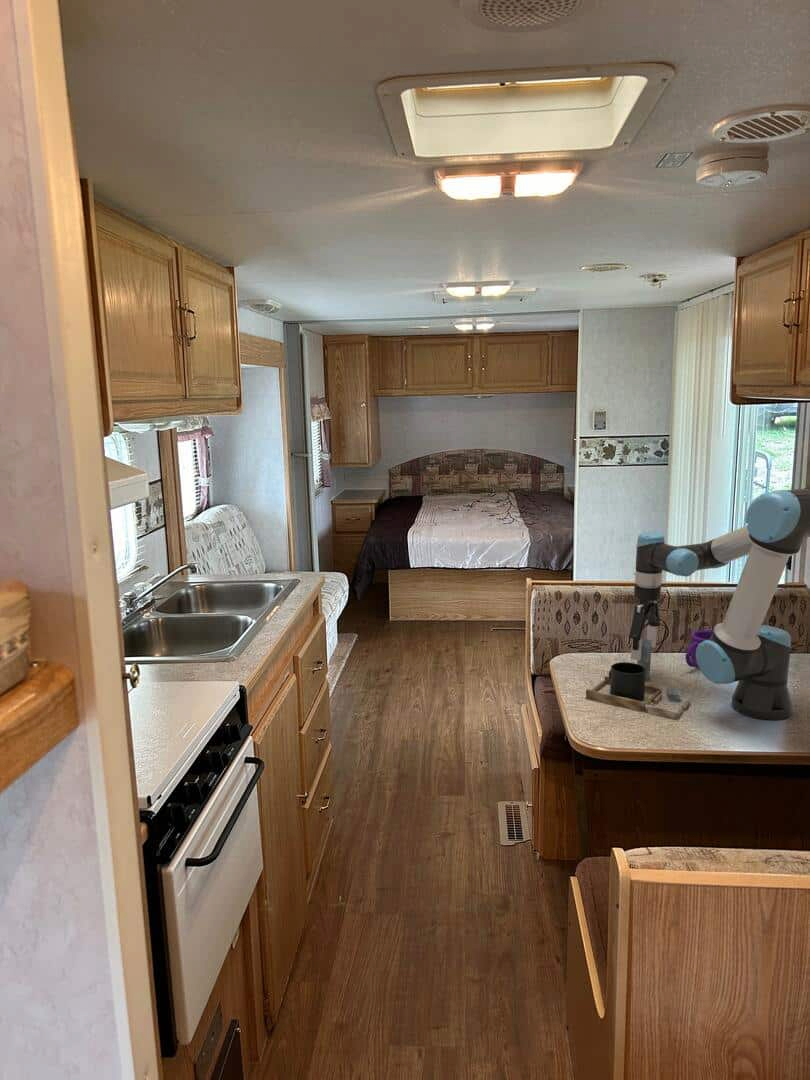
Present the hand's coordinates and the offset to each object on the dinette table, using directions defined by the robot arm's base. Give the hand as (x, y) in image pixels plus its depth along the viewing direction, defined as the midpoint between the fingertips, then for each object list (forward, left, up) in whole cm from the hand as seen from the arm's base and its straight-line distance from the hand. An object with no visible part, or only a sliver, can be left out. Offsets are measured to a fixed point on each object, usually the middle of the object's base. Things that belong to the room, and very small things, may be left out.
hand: (643, 653), depth 233 cm
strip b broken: (-13, +16, -8) cm, 22 cm away
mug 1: (0, +17, -8) cm, 19 cm away
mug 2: (-12, -20, -8) cm, 25 cm away
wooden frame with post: (0, +11, -8) cm, 14 cm away
